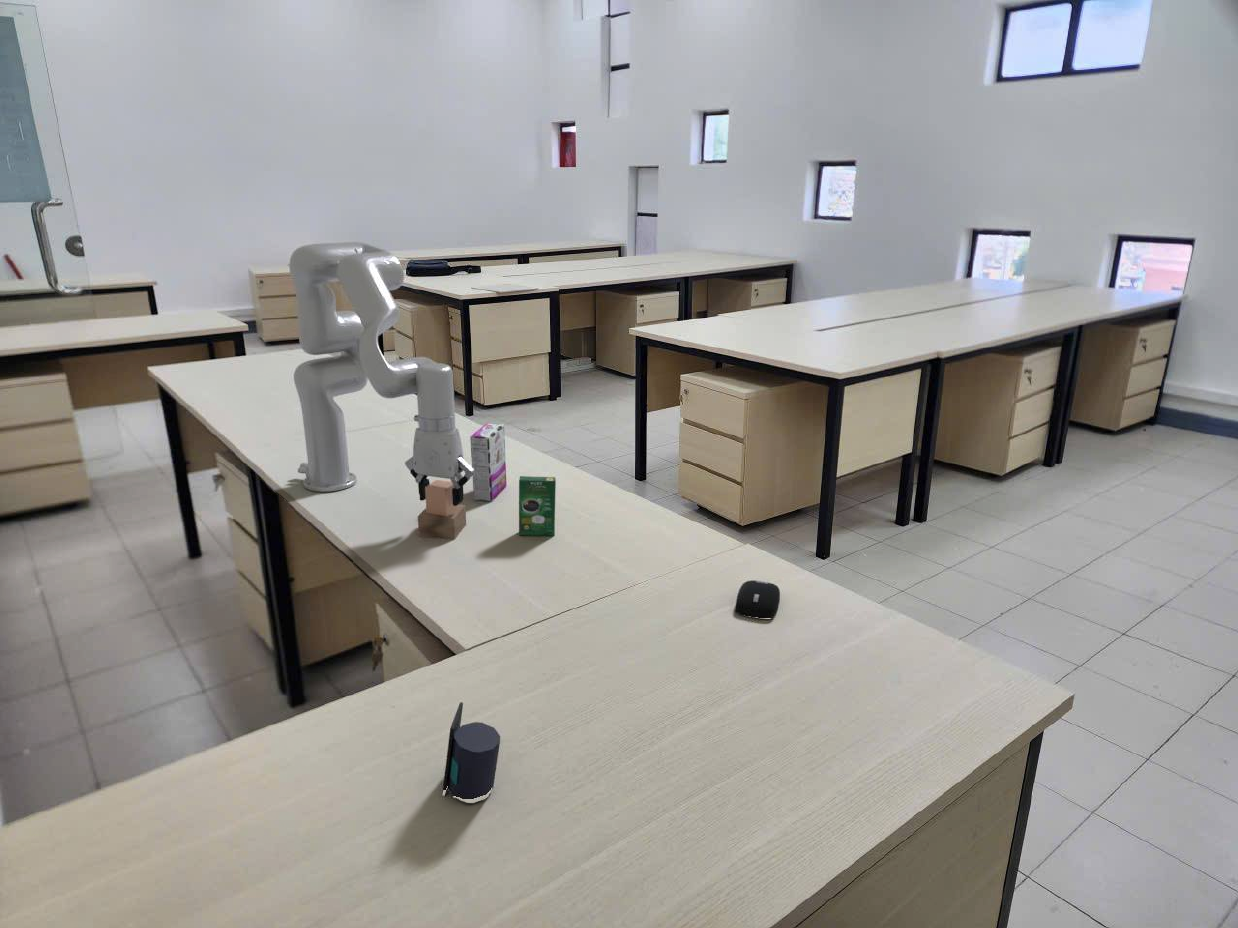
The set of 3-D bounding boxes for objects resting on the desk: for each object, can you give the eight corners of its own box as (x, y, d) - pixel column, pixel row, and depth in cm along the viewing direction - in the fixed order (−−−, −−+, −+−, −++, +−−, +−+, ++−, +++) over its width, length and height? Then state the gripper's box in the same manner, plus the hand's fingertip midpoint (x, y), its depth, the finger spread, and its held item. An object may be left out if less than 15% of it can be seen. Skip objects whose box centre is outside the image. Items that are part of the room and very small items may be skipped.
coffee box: (556, 531, 181) (556, 475, 177) (555, 536, 178) (555, 480, 174) (519, 531, 181) (518, 475, 176) (518, 536, 178) (517, 479, 173)
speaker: (426, 793, 103) (431, 724, 100) (452, 766, 108) (458, 700, 105) (478, 816, 100) (485, 746, 97) (502, 788, 106) (509, 720, 102)
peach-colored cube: (426, 512, 177) (425, 486, 175) (437, 505, 181) (436, 479, 179) (446, 516, 176) (444, 489, 174) (457, 508, 180) (456, 482, 178)
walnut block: (419, 537, 177) (417, 516, 175) (431, 523, 184) (430, 502, 183) (455, 540, 176) (453, 518, 174) (466, 525, 183) (465, 505, 182)
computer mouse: (783, 593, 156) (785, 574, 155) (773, 623, 145) (775, 603, 144) (744, 587, 158) (746, 568, 157) (731, 616, 148) (733, 596, 146)
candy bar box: (488, 484, 207) (486, 422, 202) (507, 486, 206) (505, 424, 201) (472, 500, 197) (469, 435, 192) (491, 502, 196) (489, 437, 191)
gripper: (391, 423, 171) (397, 501, 177) (465, 432, 166) (468, 513, 172) (411, 414, 178) (416, 490, 184) (482, 422, 173) (485, 500, 178)
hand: (441, 500), depth 178 cm, fingers open, 7 cm apart
